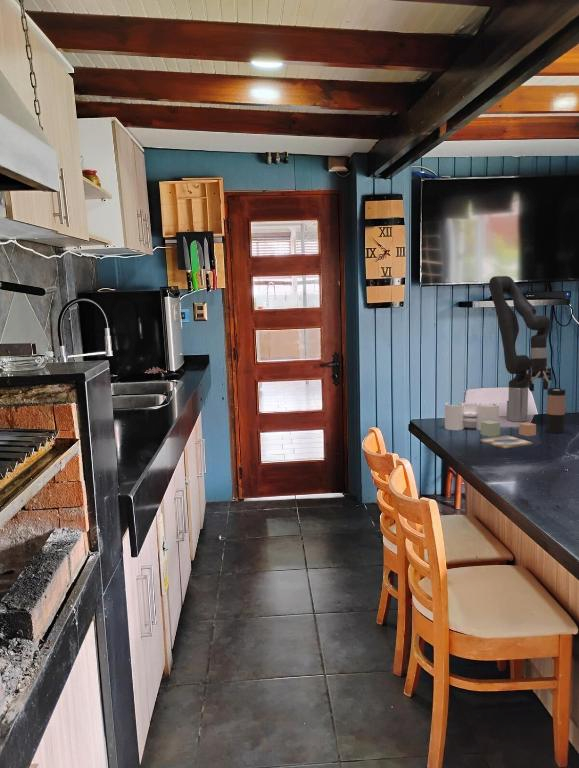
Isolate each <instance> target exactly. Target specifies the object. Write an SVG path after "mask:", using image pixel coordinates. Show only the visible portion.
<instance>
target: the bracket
mask: <svg viewBox="0 0 579 768" xmlns="http://www.w3.org/2000/svg"><path fill="white" fill-rule="evenodd" d="M490 420H492V421H496V422H499V423H500V404H499V403H498V402H493V404H492V405H482V403H481V402H459V405H456V404H455V405H452V404H450V402H446V403H444V429H445V430H449V431H461V430H462V431H463V430H465V428H466V429H468V428H470V429H474V428H475V429H476V430H478V431H481V422H482V421H490Z"/></svg>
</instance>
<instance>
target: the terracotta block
mask: <svg viewBox="0 0 579 768" xmlns="http://www.w3.org/2000/svg"><path fill="white" fill-rule="evenodd" d="M518 425H519V426H518V434H519V435H522V436H525V437H531V436H536V435H537V424H536V423H531V422H521V423H519V424H518Z"/></svg>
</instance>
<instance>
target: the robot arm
mask: <svg viewBox="0 0 579 768" xmlns="http://www.w3.org/2000/svg"><path fill="white" fill-rule="evenodd" d="M488 289H489V292H490V295H491V298H492V302H493V305H494V309H495V314H496V317H497V324H498V328H499V332H500V336H501V337H500V338H501V343H502V347H503V348H502V349H503V358H504V366H505V369H506V371H507V372H508V373H509V374H510V375H514V377H513V378H512V379H510V380H509V381H508V398H507V399H508V400H506V420H508V421H510V422H515V423H516V422H521V423H524V422H527V421H528V411H529V410H528V409H529V408H528V406H529V392H535V391H534V390H535V382H536V381H537V379H541V380H542V381H543V382H542V389H543V390H548V389H549V382H550V381H552V379H553V378H552V377H553V376H552V368H551V367H548V350H547V342H548V341H547V339H548V337H549V336H548V335H549V331H550V328H551V321H550V318H549V317H548V316H547V315H544V314H543V315H542V314H541V315H540V314H539V315H536V314H537V309H536V307H534V306H533V304H532V303H531V302H530V301H528V300H527V298H526V297H525V296H524V294H523V293H522V291H521V290H520V288H519V287H518V286H517V284H516V282H515V281H514V280H513V278H512V277H510V276H508V275H501V276H500V275H498V276H497V275H496V276H492V277H491V278H490V280H489V283H488ZM505 295H507V296H508V297H510V298H511V299H512V302H513V307H514V309H515V311H516V312H517V313H518V315H520V316H521V318H522V319H523V322H524V324H525V325H526V327H527V328H528V330H531V331H536V334H535V335H532V336H531V337H530V352H529V356H528V355H525V354H520V355H519V354H518V355H517V351H516V343H517V339H518V336H519V332H520V325H519V321H518V320H519V319H518V317H517V315H516V313H515V311H514V310H513V309H512V308H511V306H510V305H509V304H508V302H507V300H506V297H505Z"/></svg>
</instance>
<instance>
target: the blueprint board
mask: <svg viewBox="0 0 579 768" xmlns="http://www.w3.org/2000/svg"><path fill="white" fill-rule="evenodd" d="M480 442H482V443H486V444H489V445H492V446H495V447H498V448H501V449H510V448H517V447H523V446H524V447H525V446H529V445H533V442H531V441H528V440H526V439H523V438H518V437H515V436H511V435H508V434H507V435H499V436H492V437H487V438H486V437H485V438H480Z"/></svg>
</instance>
